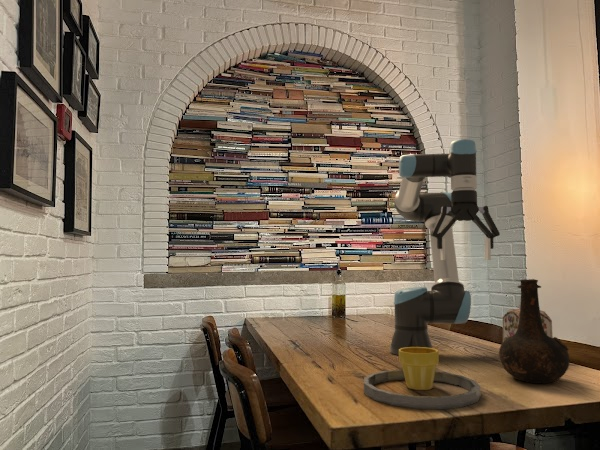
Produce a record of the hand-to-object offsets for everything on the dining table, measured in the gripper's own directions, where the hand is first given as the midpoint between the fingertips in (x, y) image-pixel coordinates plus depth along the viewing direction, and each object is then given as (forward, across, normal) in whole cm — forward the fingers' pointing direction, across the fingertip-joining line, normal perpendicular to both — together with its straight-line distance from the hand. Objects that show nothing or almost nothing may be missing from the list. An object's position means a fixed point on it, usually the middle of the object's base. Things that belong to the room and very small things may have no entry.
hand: (465, 260), depth 151 cm
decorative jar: (+34, +27, +22) cm, 49 cm away
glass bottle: (+34, +15, -10) cm, 38 cm away
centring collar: (+33, -19, -23) cm, 45 cm away
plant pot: (+33, -19, -18) cm, 42 cm away
